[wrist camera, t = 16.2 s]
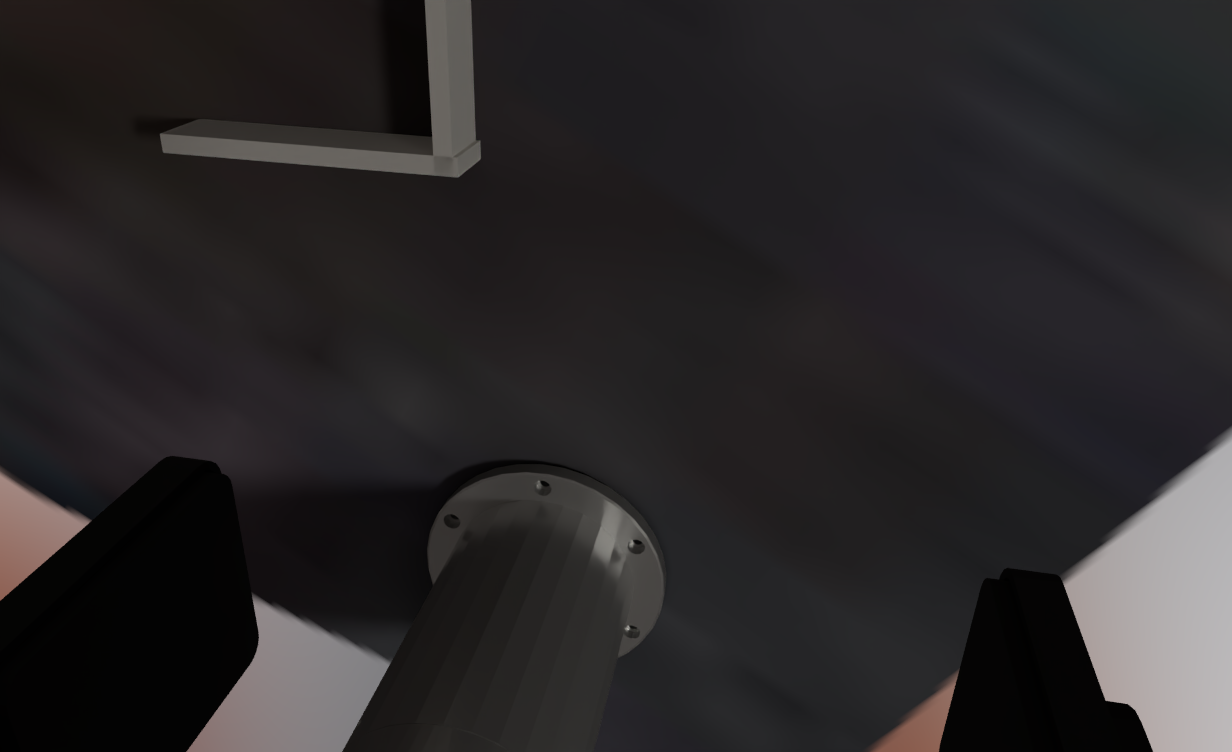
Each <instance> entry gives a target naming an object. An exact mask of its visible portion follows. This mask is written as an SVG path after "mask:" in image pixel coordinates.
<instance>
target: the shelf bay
mask: <svg viewBox="0 0 1232 752" xmlns="http://www.w3.org/2000/svg"><path fill="white" fill-rule="evenodd" d="M425 13H426V31H427V49H428V67H429V85H430V104H431V122H432V137H428V136H415V135H402V134H389V133H377V132H364V131H351V130H338V129H325V128H312V127H299V126H287V125H274V124H261V123H248V122H235V121H222V120H209V119H198V120H195V121H193V122H190V123H187V124H184V125H182V126H179V127H176V128H174V129H171V130H168V131H166V132H163V133H160V138H161V143H162V149H163V153H173V154H185V155H197V156H209V157H220V158H232V159H244V160H256V161H268V162H280V163H292V164H304V165H316V166H328V167H340V168H352V169H364V170H375V171H387V172H399V173H411V174H423V175H435V176H447V177H459V176H461V175H462V174H463V173H464V172H465V171H467V170H468V169H469V168H470V167H472V166H473V165H474V164H475V163H477V162H478V161H479V160H480V159H481V150H480V140H476V135H475V106H474V77H473V48H472V19H471V0H425Z"/></svg>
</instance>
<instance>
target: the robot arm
mask: <svg viewBox="0 0 1232 752" xmlns="http://www.w3.org/2000/svg"><path fill="white" fill-rule="evenodd" d="M427 560H428V570H429V573H430V577H431V580H432V583H433V587H432V589H431V590H430V592H429V594H428V596H427V598H426V600H425V601H424V603H423V605H422V607H421V609H420V611H419V612H418V614H417V616H416V618H415V620H414V622H413V623H412V625H411V627H410V629H409V631H408V633H407V634H406V636H405V638H404V640H403V642H402V643H401V645H400V647H399V649H398V651H397V653H396V654H395V656H394V658H393V660H392V662H391V664H390V665H389V667H388V669H387V671H386V673H385V675H384V676H383V678H382V680H381V682H380V684H379V686H378V687H377V689H376V691H375V693H374V695H373V697H372V698H371V700H370V702H369V704H368V706H367V707H366V709H365V711H364V713H363V715H362V717H361V719H360V720H359V722H358V724H357V726H356V728H355V730H354V731H353V733H352V735H351V737H350V739H349V741H348V742H347V744H346V746H345V748H344V749H343V751H342V752H594V748H595V744H596V740H597V736H598V732H599V728H600V724H601V720H602V716H603V712H604V709H605V705H606V701H607V697H608V693H609V689H610V685H611V681H612V677H613V673H614V669H615V665H616V662H617V658H619V657H621V656H623V655H625V654H627V653H628V652H630V651H631V650H632V649H633V648H635V647H636V646H637V645H638V644H640V643H641V642H642V641H643V640H644V638H645V637H646V636H647V635H648V634H649V632H650V631H651V630H652V629H653V627H654V625H655V623H656V621H657V618H658V616H659V614H660V612H661V608H662V604H663V599H664V595H665V586H666V569H665V563H664V557H663V553H662V551H661V548H660V546H659V543H658V541H657V538H656V536H655V534H654V533H653V531H652V530H651V528H650V527H649V525H648V524H647V522H646V521H645V519H644V518H643V517H642V516H641V515H640V513H639V512H638V511H637V510H636V509H635V508H634V507H633V506H632V505H631V504H630V503H629V502H628V501H627V500H626V499H624V498H623V497H622V496H620V495H619V494H618V493H616V492H615V491H614V490H612V489H611V488H610V487H608V486H606V485H604V484H602V483H600V482H598V481H596V480H595V479H593V478H591V477H589V476H587V475H584V474H581V473H578V472H575V471H572V470H569V469H566V468H561V467H555V466H549V465H543V464H515V465H510V466H504V467H498V468H495V469H492V470H489V471H487V472H484V473H482V474H479V475H476V476H475V477H473V478H472V479H470V480H469V481H467V482H466V483H464V484H463V485H461V486H460V487H459V488H458V489H457V490H456V491H455V492H454V493H453V494H452V495H451V496H450V497H449V498H448V499H447V501H446V502H445V504H444V505H443V507H442V508H441V510H440V512H439V513H438V515H437V517H436V519H435V521H434V524H433V526H432V528H431V531H430V534H429V540H428V546H427ZM258 639H259V634H258V627H257V622H256V616H255V611H254V605H253V599H252V594H251V588H250V583H249V577H248V571H247V566H246V560H245V555H244V549H243V543H242V538H241V532H240V527H239V521H238V516H237V510H236V504H235V499H234V493H233V488H232V484H231V480H230V479H229V477H228V476H226V475H224V474H221V471H220V468H219V467H218V466H217V464H216V463H214V462H212V461H206V460H198V459H191V458H183V457H176V456H170V457H166V458H164V459H163V460H161V461H160V462H159V463H158V464H156V465H155V466H154V467H153V468H152V469H151V470H150V471H148V472H147V473H146V474H145V475H144V476H143V477H142V478H140V479H139V480H138V481H137V482H136V483H135V484H134V485H132V486H131V487H130V488H129V489H128V490H127V491H126V492H124V493H123V494H122V495H121V496H120V497H119V498H117V499H116V500H115V501H114V502H113V503H112V504H111V505H109V506H108V507H107V508H106V509H105V510H104V511H103V512H101V513H100V514H99V515H98V516H97V517H96V518H95V519H93V520H92V521H91V522H90V523H89V524H88V525H87V526H85V528H83V529H82V530H81V531H80V532H79V533H77V535H75V536H74V537H73V538H72V539H71V540H69V541H68V542H67V543H66V544H65V545H64V546H63V547H61V548H60V549H59V550H58V551H57V552H56V553H55V554H54V555H52V556H51V557H50V558H49V559H48V560H47V561H46V562H44V563H43V564H42V565H41V566H40V567H38V568H37V569H36V570H35V571H34V572H33V573H32V574H30V575H29V576H28V577H27V578H26V579H25V580H24V581H22V582H21V583H20V584H19V585H18V586H17V587H16V588H14V589H13V590H12V591H11V592H10V593H9V594H8V595H7V596H5V597H4V598H3V599H2V600H1V601H0V752H186V751H187V750H188V749H189V747H190V746H191V745H192V743H193V742H194V741H195V739H196V738H197V736H198V735H199V734H200V732H201V731H202V730H203V728H204V727H205V725H206V724H207V723H208V721H209V720H210V719H211V717H212V716H213V714H214V713H215V712H216V710H217V709H218V707H219V706H220V705H221V703H222V702H223V701H224V699H225V698H226V697H227V695H228V694H229V692H230V691H231V690H232V688H233V687H234V686H235V684H236V683H237V681H238V680H239V679H240V677H241V676H242V675H243V673H244V672H245V670H246V669H247V668H248V666H249V665H250V663H251V662H252V660H253V658H254V655H255V653H256V650H257V646H258ZM939 752H1153V750H1152V748H1151V745H1150V743H1149V740H1148V738H1147V735H1146V733H1145V730H1144V728H1143V725H1142V723H1141V721H1140V719H1139V717H1138V715H1137V713H1136V711H1135V710H1134V709H1133V708H1132V707H1130V706H1129V705H1128V704H1123V703H1116V702H1110V701H1105V698H1104V695H1103V693H1102V690H1101V687H1100V684H1099V682H1098V679H1097V676H1096V673H1095V670H1094V668H1093V665H1092V662H1091V659H1090V657H1089V654H1088V651H1087V648H1086V646H1085V643H1084V640H1083V637H1082V634H1081V632H1080V629H1079V626H1078V623H1077V621H1076V618H1075V615H1074V612H1073V610H1072V607H1071V604H1070V601H1069V598H1068V596H1067V593H1066V590H1065V587H1064V585H1063V582H1062V580H1061V578H1060V577H1059V576H1058V575H1055V574H1048V573H1040V572H1033V571H1026V570H1018V569H1011V568H1006V569H1004V570H1003V572H1002V574H1001V576H1000V579H999V580H997V579H990V578H986V579H985V580H984V581H983V583H982V586H981V589H980V593H979V597H978V601H977V605H976V609H975V612H974V616H973V620H972V624H971V628H970V632H969V635H968V639H967V643H966V647H965V651H964V655H963V658H962V662H961V666H960V670H959V674H958V678H957V681H956V685H955V689H954V693H953V697H952V701H951V704H950V708H949V713H948V716H947V720H946V724H945V727H944V732H943V735H942V739H941V743H940V749H939Z"/></svg>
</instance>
